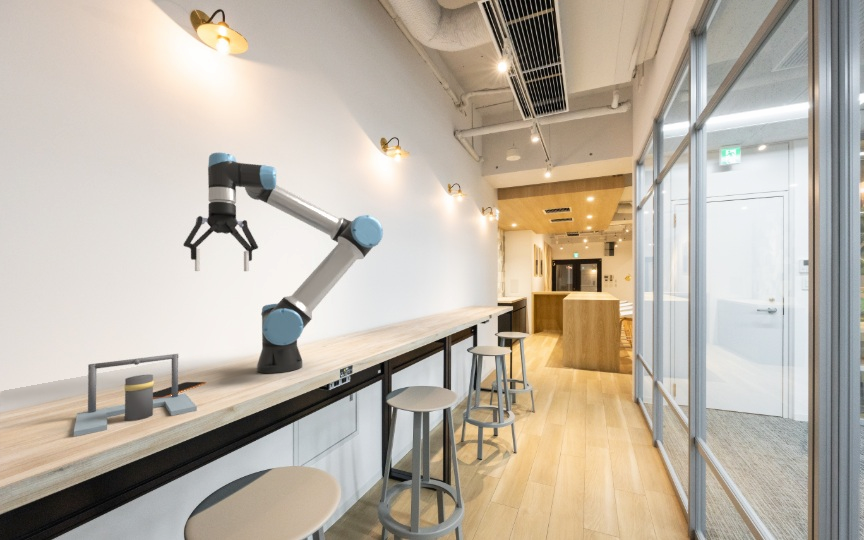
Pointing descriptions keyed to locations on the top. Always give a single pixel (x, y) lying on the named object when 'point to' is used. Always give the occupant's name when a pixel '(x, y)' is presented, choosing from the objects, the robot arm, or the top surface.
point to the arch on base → (98, 418)
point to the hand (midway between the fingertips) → (222, 271)
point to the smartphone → (181, 387)
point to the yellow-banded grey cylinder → (138, 397)
